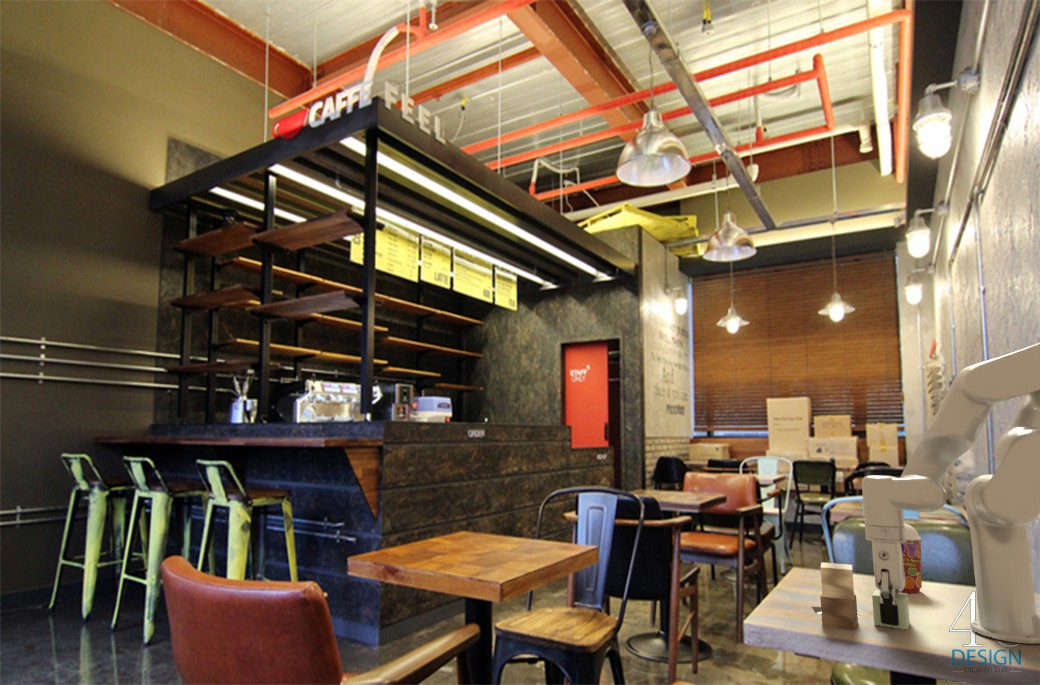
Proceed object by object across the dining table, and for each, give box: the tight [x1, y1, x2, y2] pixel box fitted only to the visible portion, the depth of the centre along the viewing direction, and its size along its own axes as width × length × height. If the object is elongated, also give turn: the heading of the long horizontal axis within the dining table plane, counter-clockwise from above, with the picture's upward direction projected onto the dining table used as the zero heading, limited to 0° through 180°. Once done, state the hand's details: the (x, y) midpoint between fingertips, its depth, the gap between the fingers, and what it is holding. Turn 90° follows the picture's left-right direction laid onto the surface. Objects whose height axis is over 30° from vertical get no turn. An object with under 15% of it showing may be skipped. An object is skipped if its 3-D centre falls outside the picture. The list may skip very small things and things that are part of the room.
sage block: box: [871, 589, 911, 630], centre depth 136 cm, size 6×6×6 cm
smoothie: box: [900, 522, 923, 594], centre depth 166 cm, size 8×8×20 cm
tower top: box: [820, 562, 855, 600], centre depth 136 cm, size 6×6×6 cm
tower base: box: [820, 593, 859, 631], centre depth 135 cm, size 6×6×6 cm
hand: (891, 619), depth 135 cm, fingers closed on sage block, 6 cm apart
